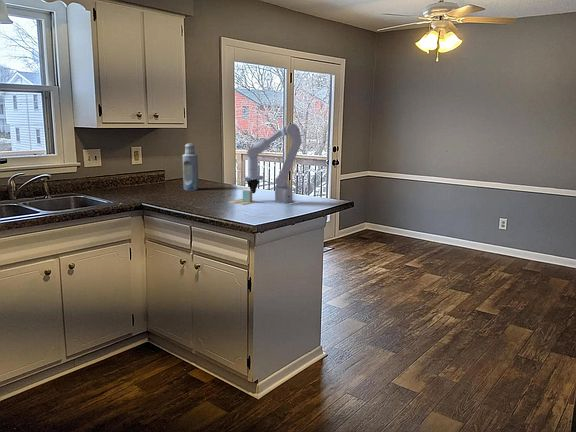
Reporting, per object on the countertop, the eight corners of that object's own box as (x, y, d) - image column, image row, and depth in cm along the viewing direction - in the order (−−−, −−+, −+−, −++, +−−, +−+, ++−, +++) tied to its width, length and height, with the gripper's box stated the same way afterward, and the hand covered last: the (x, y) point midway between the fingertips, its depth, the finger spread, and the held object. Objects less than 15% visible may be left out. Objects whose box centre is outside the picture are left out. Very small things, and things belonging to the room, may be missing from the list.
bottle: (180, 190, 319) (178, 143, 313) (188, 188, 328) (186, 143, 322) (194, 190, 316) (192, 144, 310) (201, 188, 325) (199, 143, 319)
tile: (252, 201, 271) (252, 191, 270) (250, 202, 270) (250, 191, 269) (244, 200, 275) (244, 190, 274) (242, 201, 274) (242, 190, 273)
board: (260, 203, 272) (260, 201, 272) (244, 206, 263) (244, 204, 262) (243, 200, 281) (243, 198, 281) (226, 203, 271) (226, 201, 271)
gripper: (256, 167, 281) (256, 190, 283) (238, 169, 270) (238, 193, 272) (265, 168, 276) (265, 192, 279) (247, 170, 265) (247, 195, 268)
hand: (253, 193), depth 275 cm, fingers closed
